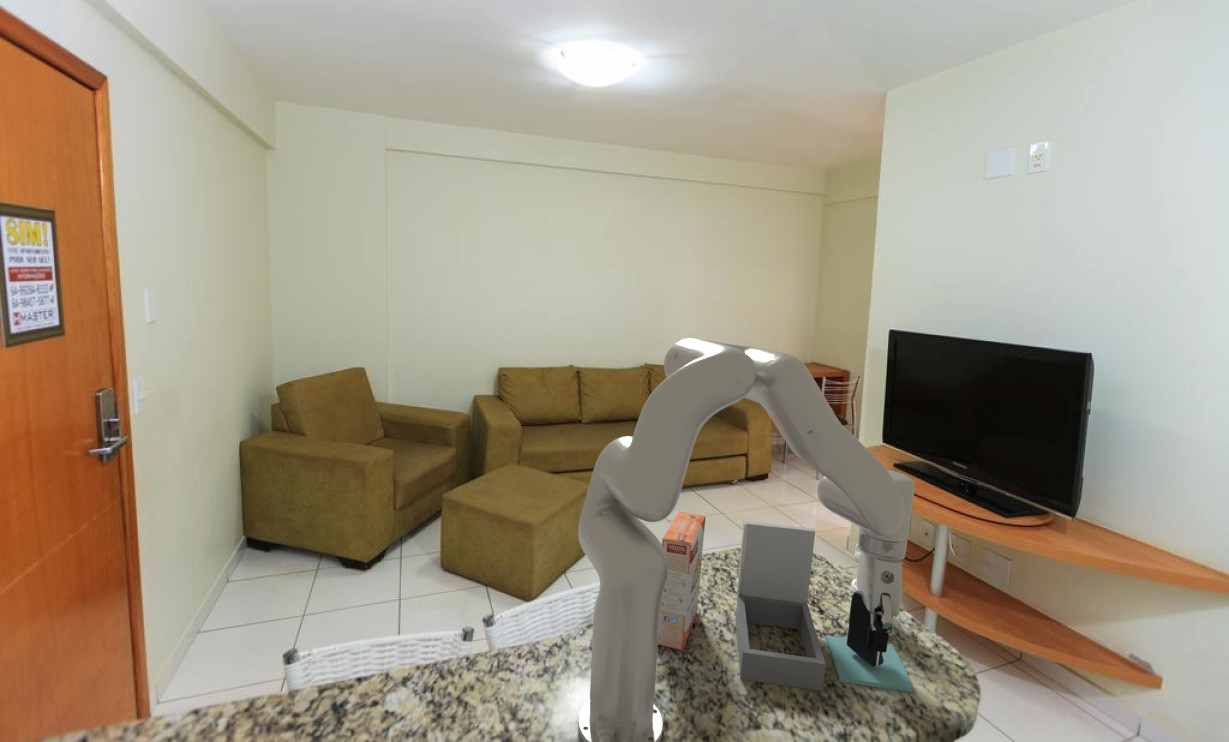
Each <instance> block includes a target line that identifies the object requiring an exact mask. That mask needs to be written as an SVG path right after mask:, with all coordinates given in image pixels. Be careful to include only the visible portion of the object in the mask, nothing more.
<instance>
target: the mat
mask: <svg viewBox="0 0 1229 742" xmlns="http://www.w3.org/2000/svg"><path fill="white" fill-rule="evenodd" d="M825 642H826V646H827V649H828V651H829V654H830V657H831V660H832V664H833V666H834V669H835V673H836V676H837V679H838V682H839V683H845V684H846V683H847V684H853V685H860V686H867V687H873V688H874V687H875V688H879V689H880V688H881V689H887V690H894V691H899V690H900V692H908V693H913V694H914V693H915V690H916V687H915V686H914V684H913V682H912V680H911V678H910V677H909V674H908V672H907V669H906V668H905V666H904V664H903V662H902V660H901V658H900V657H899V654H898V653H897V650H896V649H895V647H894V645H893V643H888V644H887V651H886V652H882V656H883V659H884V662H883V664H881V665H879V666H877V667H875V666H874V667H873V666H871V665H870V664H868V663H867V662H866V661H865V660H863V659H862V658H861V657H860V656H858V655H857V654H856V653H855V652H854V651H853V650H852V649H851V648H849V647H848V646H847V637H841V636H834V635H828V634H827V635H825Z"/></svg>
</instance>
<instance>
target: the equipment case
mask: <svg viewBox="0 0 1229 742" xmlns="http://www.w3.org/2000/svg"><path fill="white" fill-rule="evenodd" d="M741 533H742V536H741V546H740V547H741V548H740V557H739V570H738V581H737V596H736V598H737V599H736V607H735V625H736V627H735V628H736V638H737V652H738V666H739V669H738V670H739V679H740V680H745V681H751V682H756V683H763V684H771V685H777V686H785V687H791V688H797V689H803V690H810V691H816V692H824V691H823V690H824V685H825V684H824V682H825V676H826V675H825V674H826V666H827V663H826V661H825V660H826V659H825V657H824V655H823V651H822V647H821V644H820V641H819V637H818V634H817V631H816V627H815V625H814V621H813V618H812V615H811V610H810V608H809V605H808V604H809V603H808V601H809V591H810V584H811V583H810V581H811V574H812V564H813V554H814V548H815V547H814V545H815V538H816V537H815V536H816V530H815V528H810V527H803V526H802V527H801V526H792V525H784V524H775V523H767V522H766V523H765V522H756V521H749V520H746V521H745V520H744V521H743V524H742V532H741ZM748 623H749V624H756V625H764V626H769V627H770V626H771V627H779V628H785V629H793V630H799V632H800V633H799V634H800V637H801V641H802V644H803V649H804V652H805V656H801V655H796V654H795V655H794V654H787V653H780V652H773V651H766V650H762V649H761V650H759V649H752V648H750V641H749V632H748Z"/></svg>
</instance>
